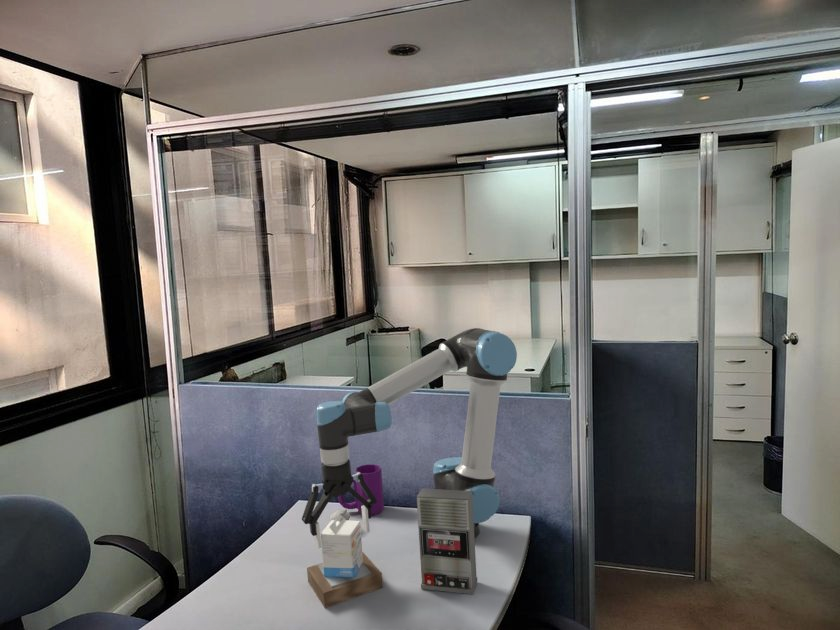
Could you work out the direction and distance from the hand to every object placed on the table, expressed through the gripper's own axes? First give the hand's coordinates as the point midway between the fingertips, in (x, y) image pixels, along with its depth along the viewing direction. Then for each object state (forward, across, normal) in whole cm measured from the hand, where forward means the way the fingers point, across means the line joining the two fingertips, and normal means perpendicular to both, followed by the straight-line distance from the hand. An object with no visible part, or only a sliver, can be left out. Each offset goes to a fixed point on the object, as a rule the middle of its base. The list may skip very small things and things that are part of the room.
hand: (343, 538), depth 150 cm
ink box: (+9, 0, 0) cm, 9 cm away
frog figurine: (+13, -9, -30) cm, 34 cm away
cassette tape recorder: (+14, -22, +16) cm, 31 cm away
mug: (+14, -20, -39) cm, 46 cm away
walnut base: (+13, +1, 0) cm, 13 cm away
